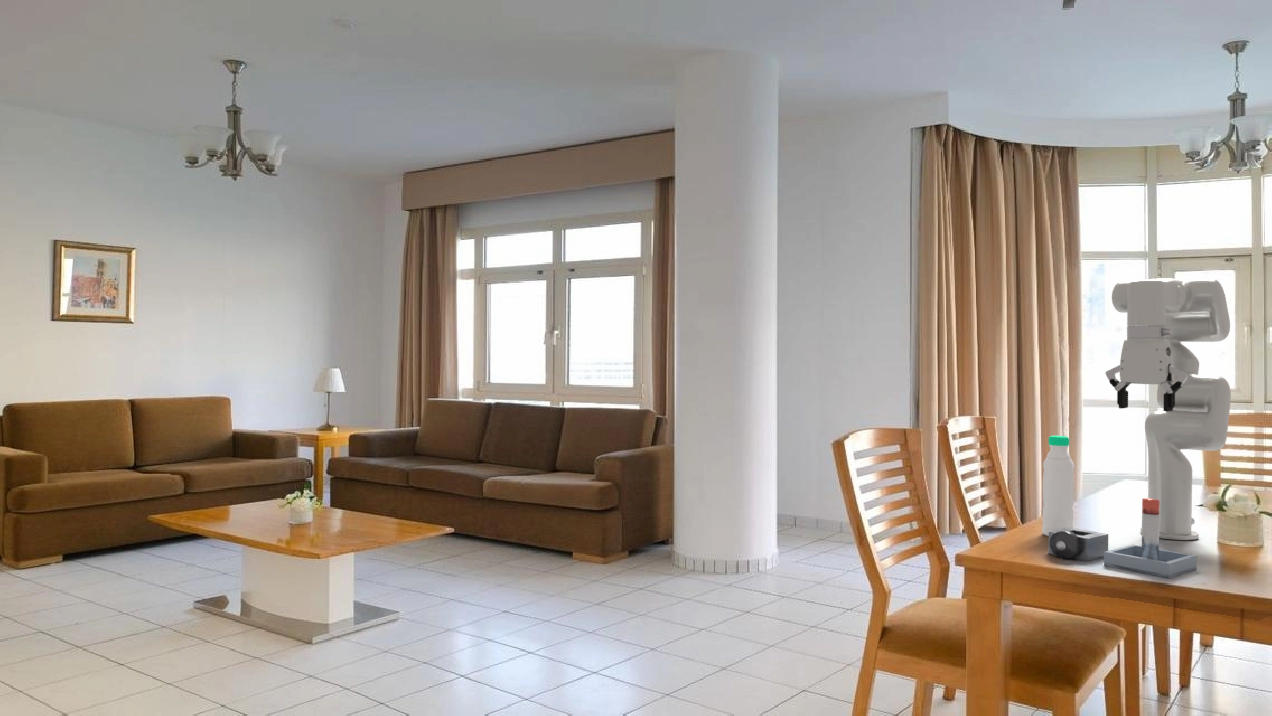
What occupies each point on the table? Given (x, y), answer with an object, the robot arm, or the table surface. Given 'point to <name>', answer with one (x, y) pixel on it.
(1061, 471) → the water bottle
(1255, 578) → the table surface
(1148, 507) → the pin
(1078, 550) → the tensioner block
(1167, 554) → the tray
